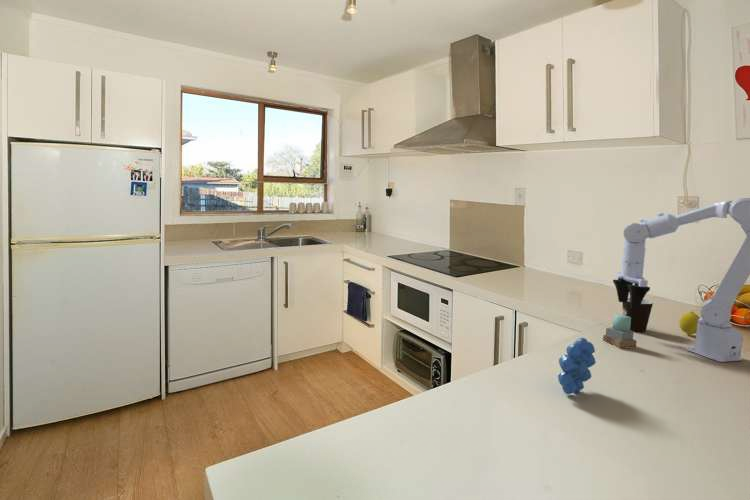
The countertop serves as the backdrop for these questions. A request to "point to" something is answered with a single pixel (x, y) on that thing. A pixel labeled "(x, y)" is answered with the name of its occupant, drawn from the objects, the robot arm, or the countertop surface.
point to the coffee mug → (638, 315)
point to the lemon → (689, 323)
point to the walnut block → (619, 342)
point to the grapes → (576, 365)
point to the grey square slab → (619, 334)
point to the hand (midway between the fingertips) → (628, 304)
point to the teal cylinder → (621, 323)
